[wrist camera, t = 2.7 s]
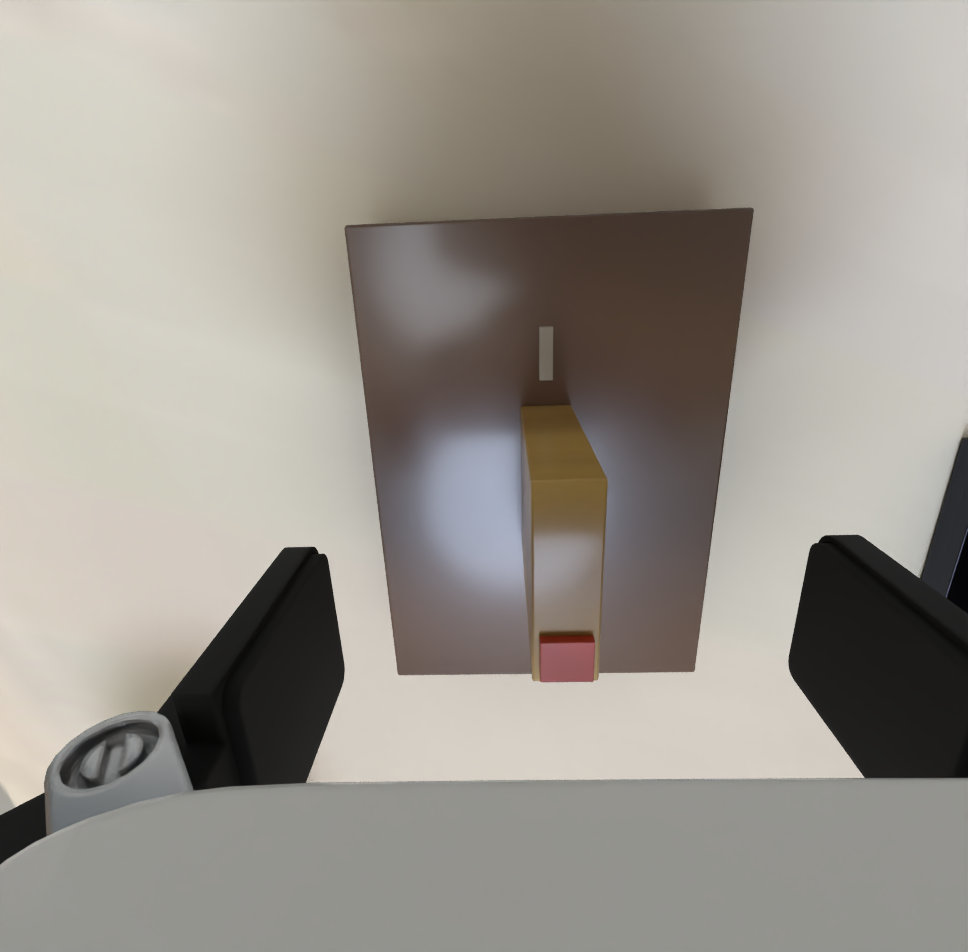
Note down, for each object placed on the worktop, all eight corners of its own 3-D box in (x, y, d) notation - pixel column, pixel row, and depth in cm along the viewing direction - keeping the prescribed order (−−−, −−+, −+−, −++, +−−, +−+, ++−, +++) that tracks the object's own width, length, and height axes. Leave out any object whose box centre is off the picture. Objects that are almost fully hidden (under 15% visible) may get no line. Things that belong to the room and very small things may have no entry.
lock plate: (370, 231, 16) (341, 224, 13) (710, 216, 16) (758, 206, 13) (411, 621, 21) (396, 679, 18) (669, 618, 21) (696, 675, 18)
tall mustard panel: (520, 405, 15) (531, 486, 10) (571, 404, 15) (611, 483, 10) (522, 552, 17) (533, 690, 11) (568, 552, 17) (600, 689, 11)
